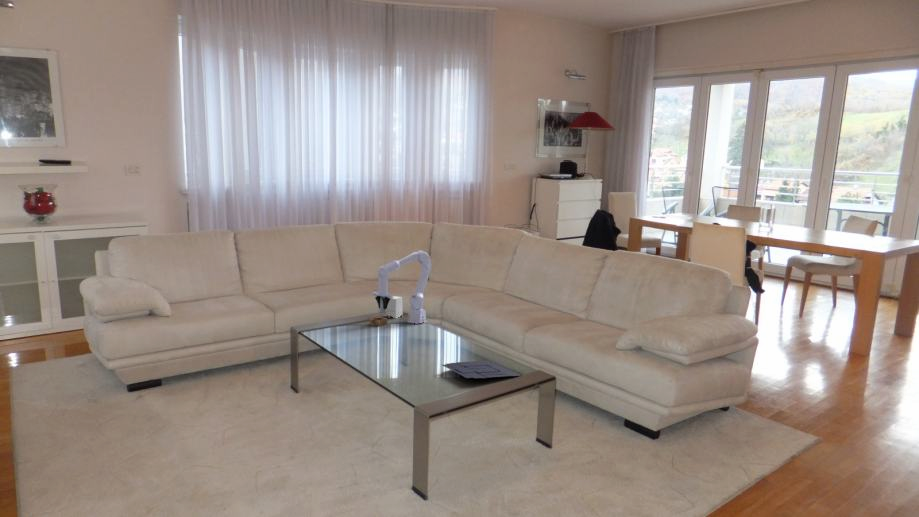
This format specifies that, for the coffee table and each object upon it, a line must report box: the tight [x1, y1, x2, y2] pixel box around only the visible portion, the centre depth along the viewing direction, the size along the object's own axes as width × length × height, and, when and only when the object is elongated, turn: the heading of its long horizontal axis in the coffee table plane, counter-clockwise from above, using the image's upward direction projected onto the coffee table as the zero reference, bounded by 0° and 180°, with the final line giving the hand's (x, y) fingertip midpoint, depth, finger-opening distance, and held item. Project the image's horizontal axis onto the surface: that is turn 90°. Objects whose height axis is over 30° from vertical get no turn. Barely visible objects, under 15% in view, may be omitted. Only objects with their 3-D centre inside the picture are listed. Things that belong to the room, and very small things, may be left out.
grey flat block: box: [441, 360, 521, 379], centre depth 267 cm, size 24×30×4 cm
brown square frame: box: [368, 316, 388, 327], centre depth 350 cm, size 8×8×4 cm
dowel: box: [379, 298, 386, 314], centre depth 350 cm, size 3×3×9 cm
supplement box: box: [386, 295, 403, 319], centre depth 370 cm, size 7×7×13 cm
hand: (382, 308), depth 350 cm, fingers closed on dowel, 3 cm apart
